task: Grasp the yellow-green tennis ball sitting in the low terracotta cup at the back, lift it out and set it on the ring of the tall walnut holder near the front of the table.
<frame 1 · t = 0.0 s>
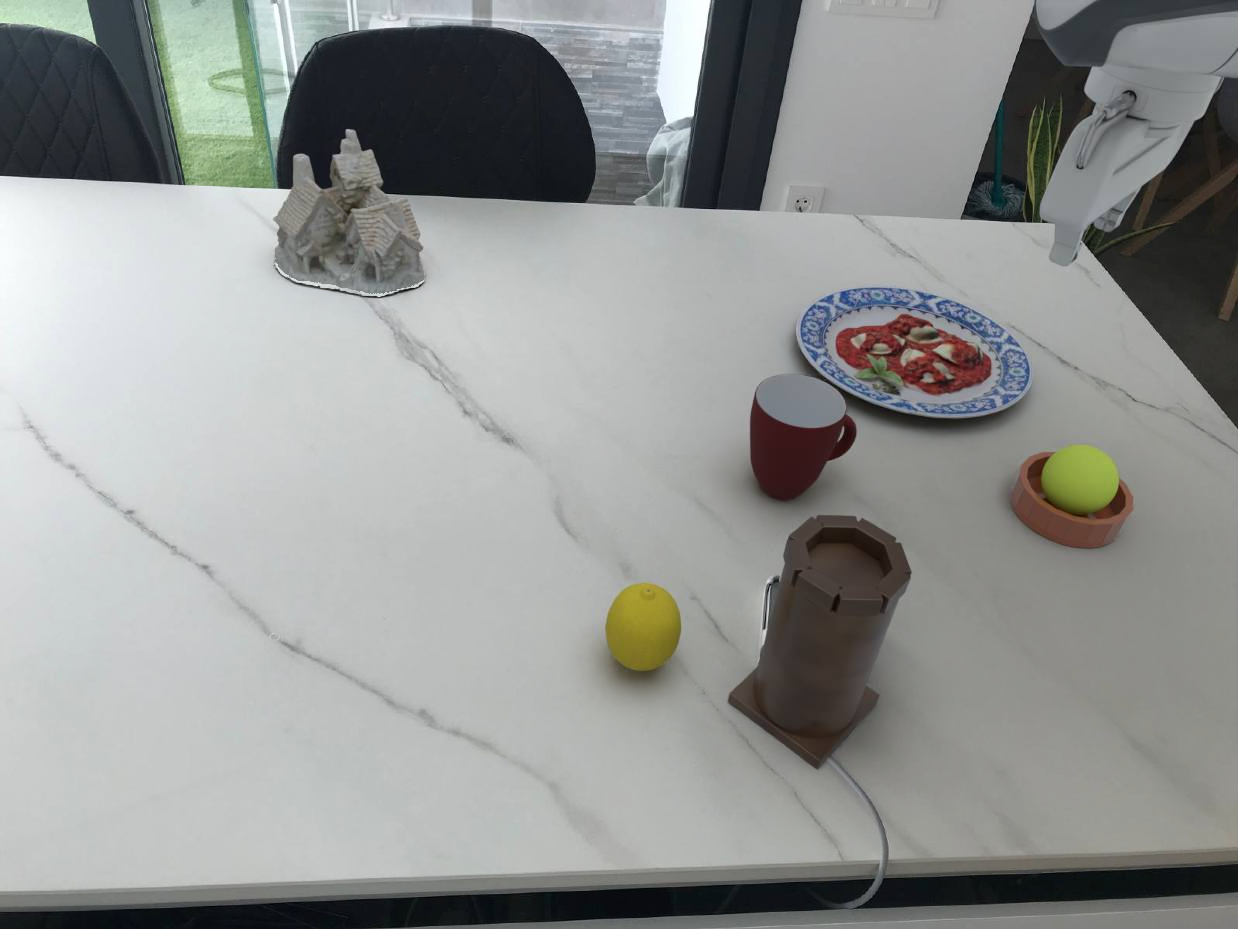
hand: (1083, 244, 83), 23 cm above the table, tool pointing down, fingers open, 8 cm apart
lemon: (638, 663, 74), on the table
mug: (790, 484, 92), on the table
ceramic cottage: (351, 269, 116), on the table
terracotta cup: (1064, 510, 91), on the table
ring holder: (843, 571, 63), on the table
ceramic plate: (907, 362, 109), on the table
tennis ball: (1079, 479, 89), point 4 cm above the table, touching terracotta cup
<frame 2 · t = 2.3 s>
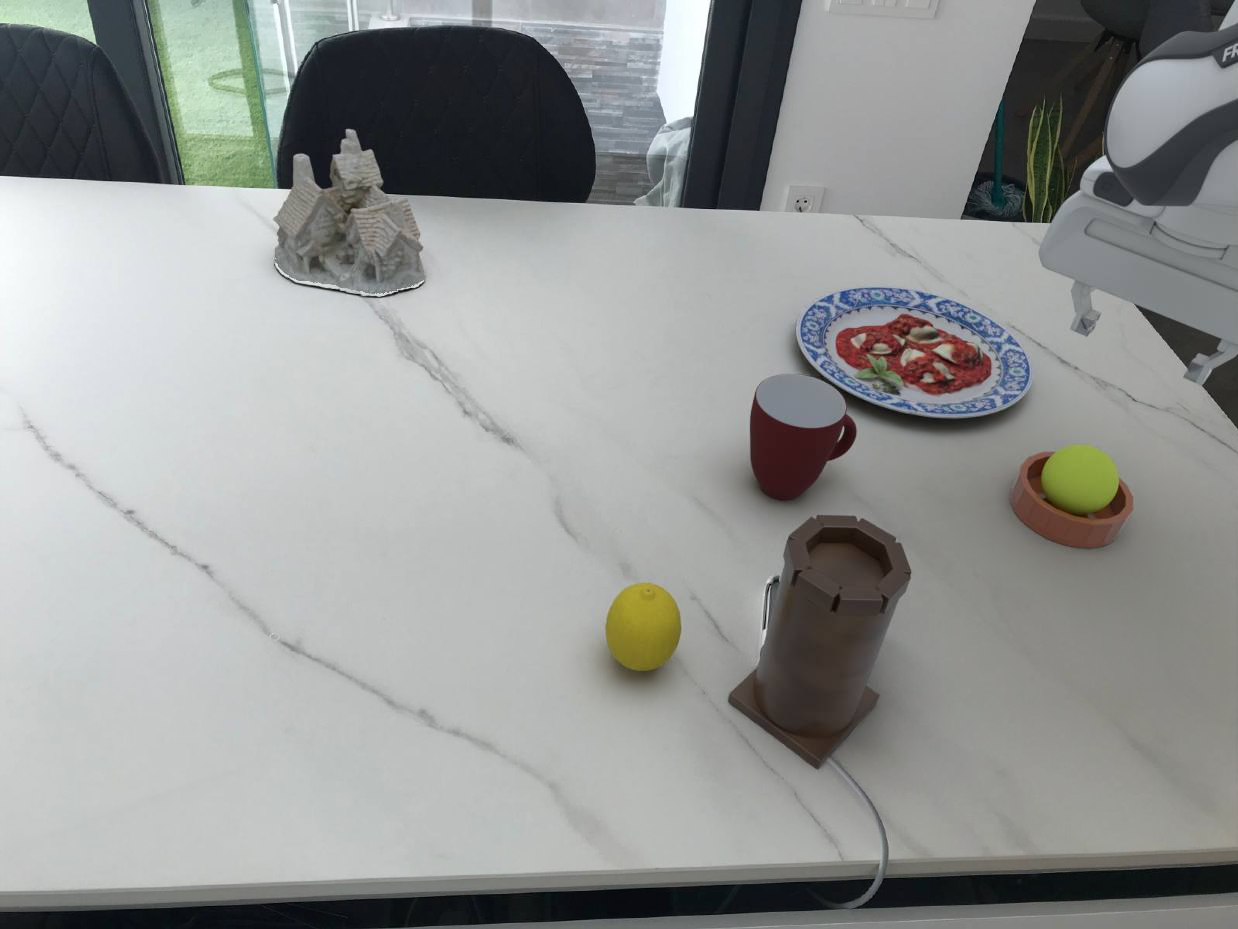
hand: (1136, 354, 81), 17 cm above the table, tool pointing down, fingers open, 8 cm apart
nothing on the table moved.
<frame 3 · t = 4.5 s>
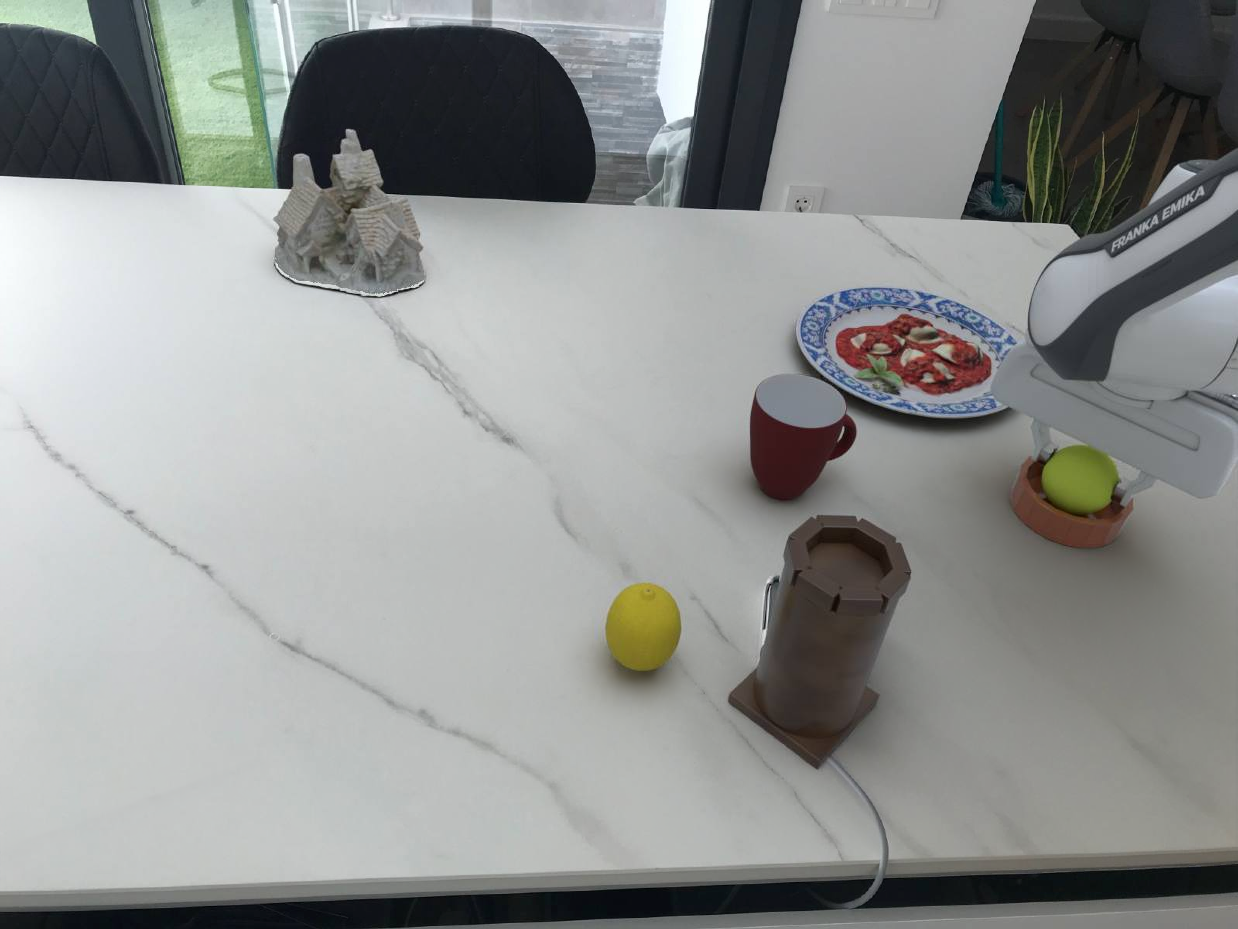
hand: (1079, 480, 89), 4 cm above the table, tool pointing down, fingers closed on tennis ball, 6 cm apart
tennis ball: (1079, 479, 89), point 4 cm above the table, touching gripper, terracotta cup
everything else where it was.
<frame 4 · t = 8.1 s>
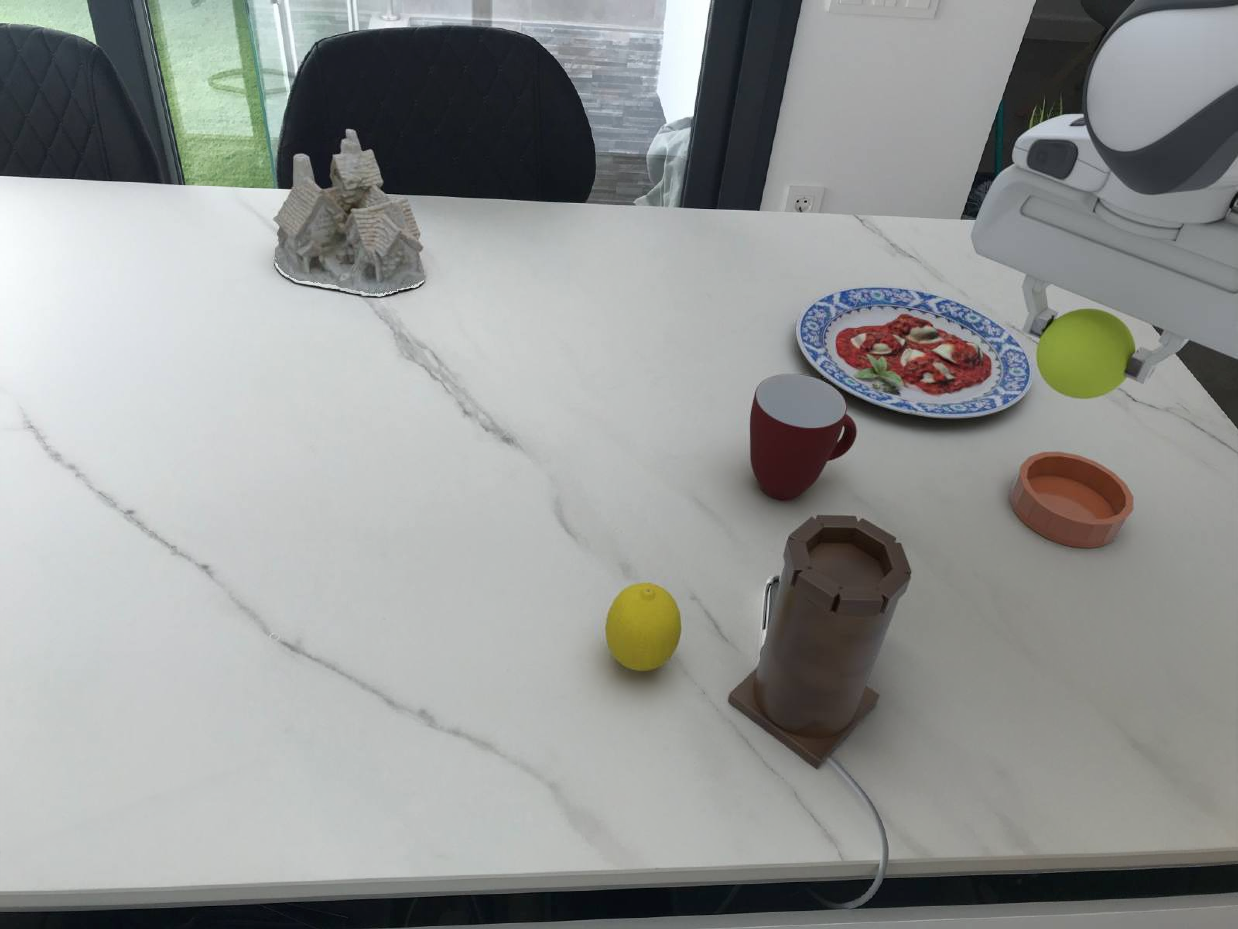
hand: (1083, 354, 70), 23 cm above the table, tool pointing down, fingers closed on tennis ball, 6 cm apart
tennis ball: (1085, 353, 70), point 23 cm above the table, touching gripper
everything else where it was.
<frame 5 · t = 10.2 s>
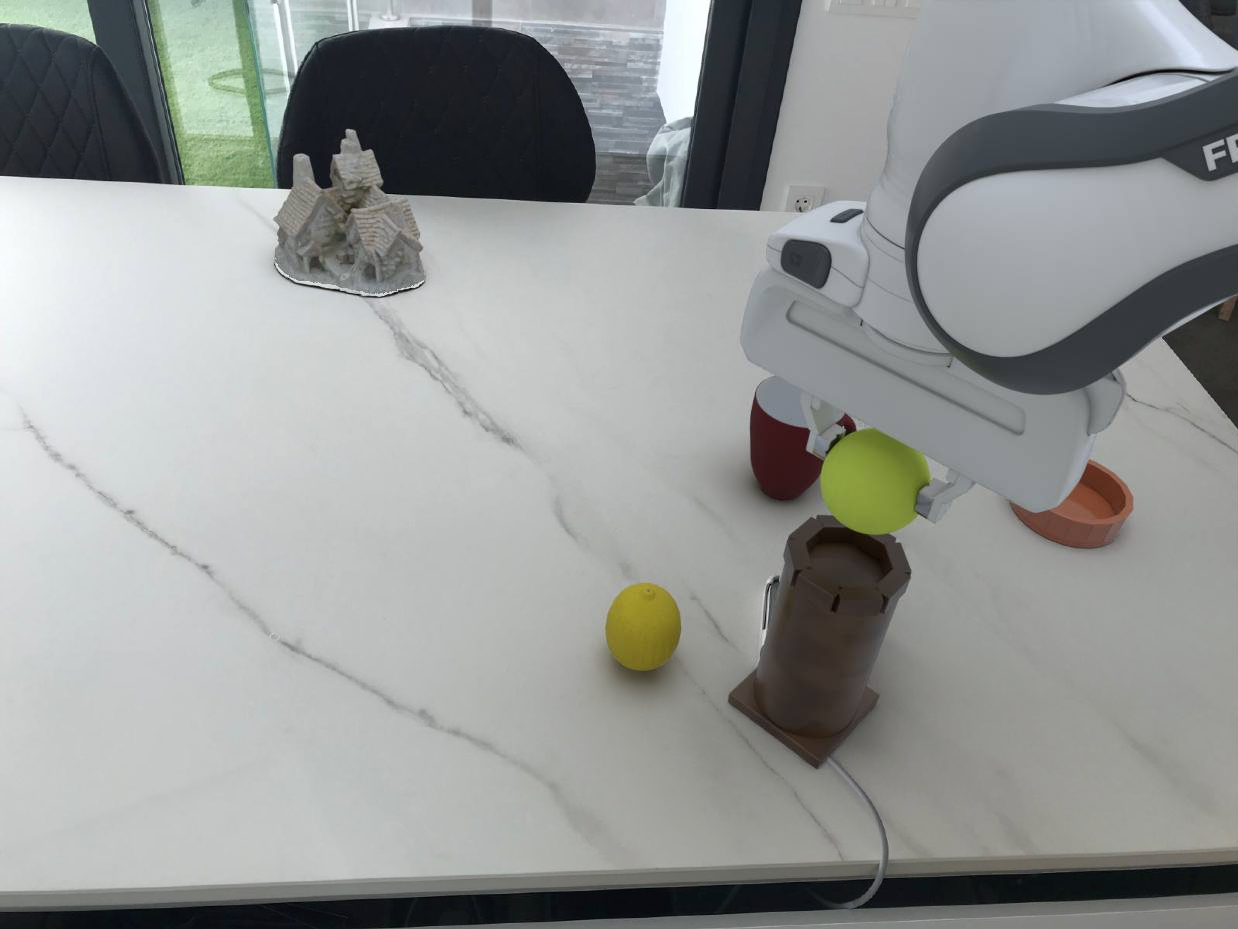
hand: (873, 481, 59), 22 cm above the table, tool pointing down, fingers closed on tennis ball, 6 cm apart
tennis ball: (874, 481, 59), point 22 cm above the table, touching gripper
everything else where it was.
when the fingers open (17 cm above the table, at t = 12.0 s): tennis ball stays where it is, resting on ring holder.
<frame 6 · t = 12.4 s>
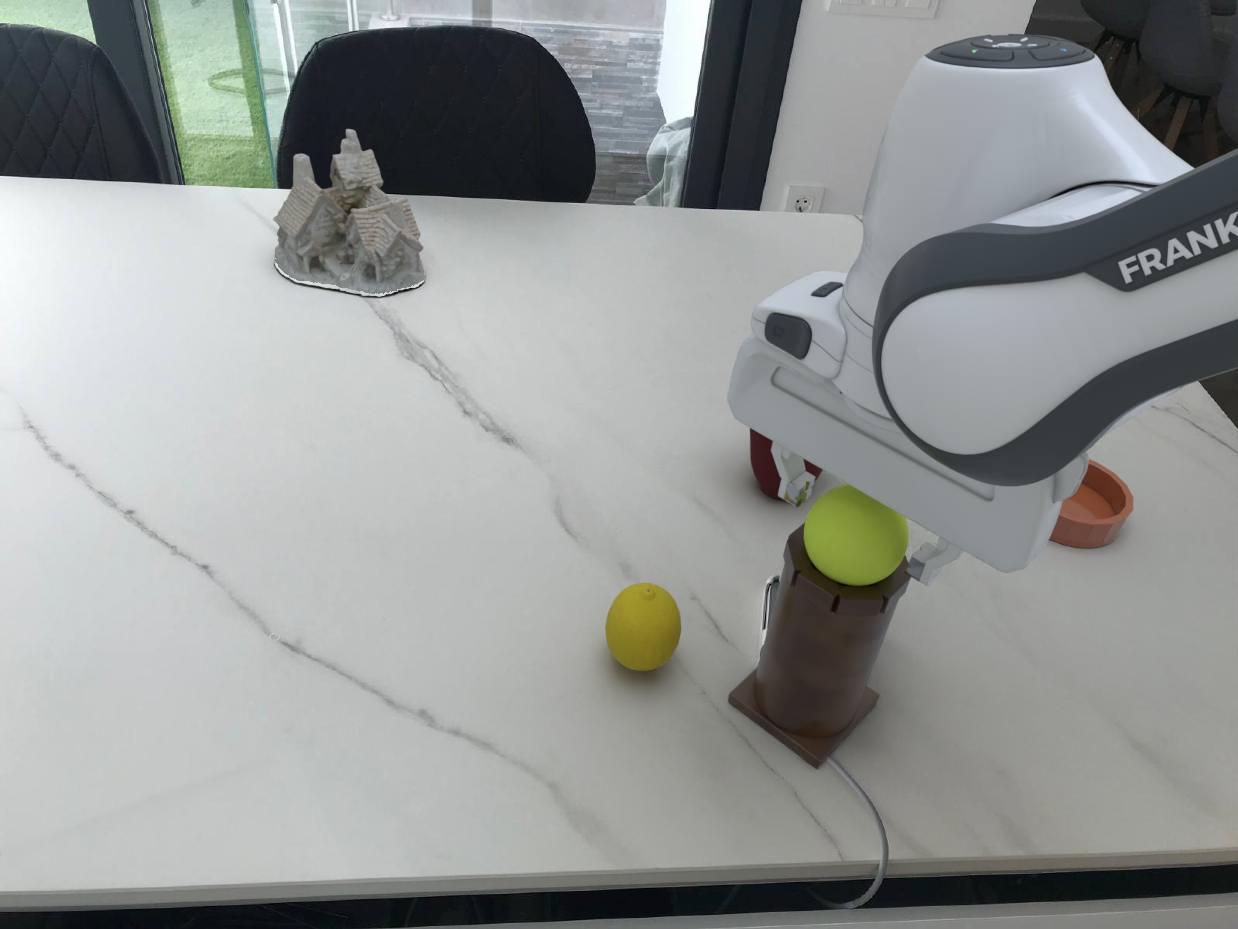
hand: (855, 535, 61), 17 cm above the table, tool pointing down, fingers open, 8 cm apart
tennis ball: (855, 534, 61), point 17 cm above the table, touching ring holder
everything else where it was.
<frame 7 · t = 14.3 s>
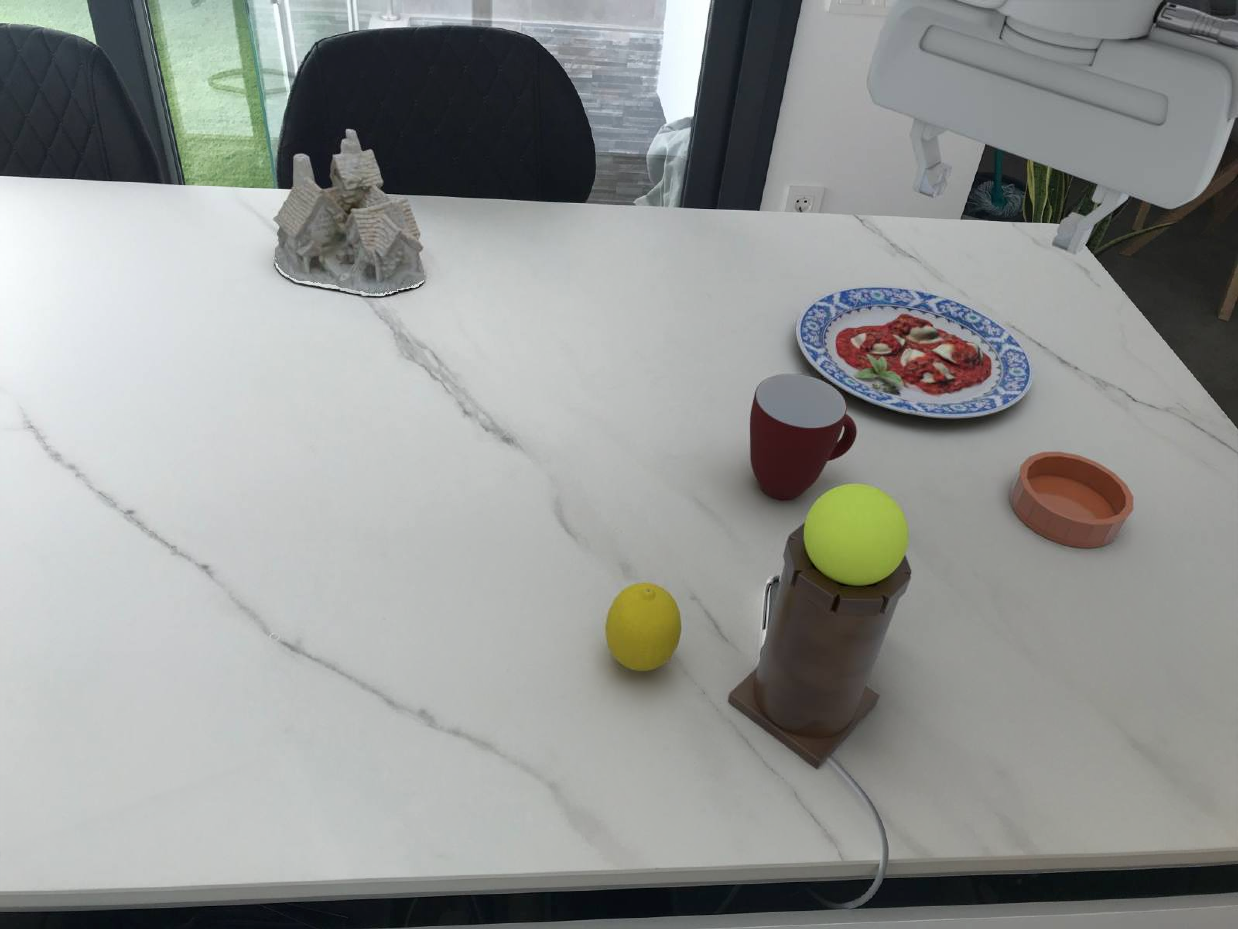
hand: (994, 219, 61), 33 cm above the table, tool pointing down, fingers open, 8 cm apart
nothing on the table moved.
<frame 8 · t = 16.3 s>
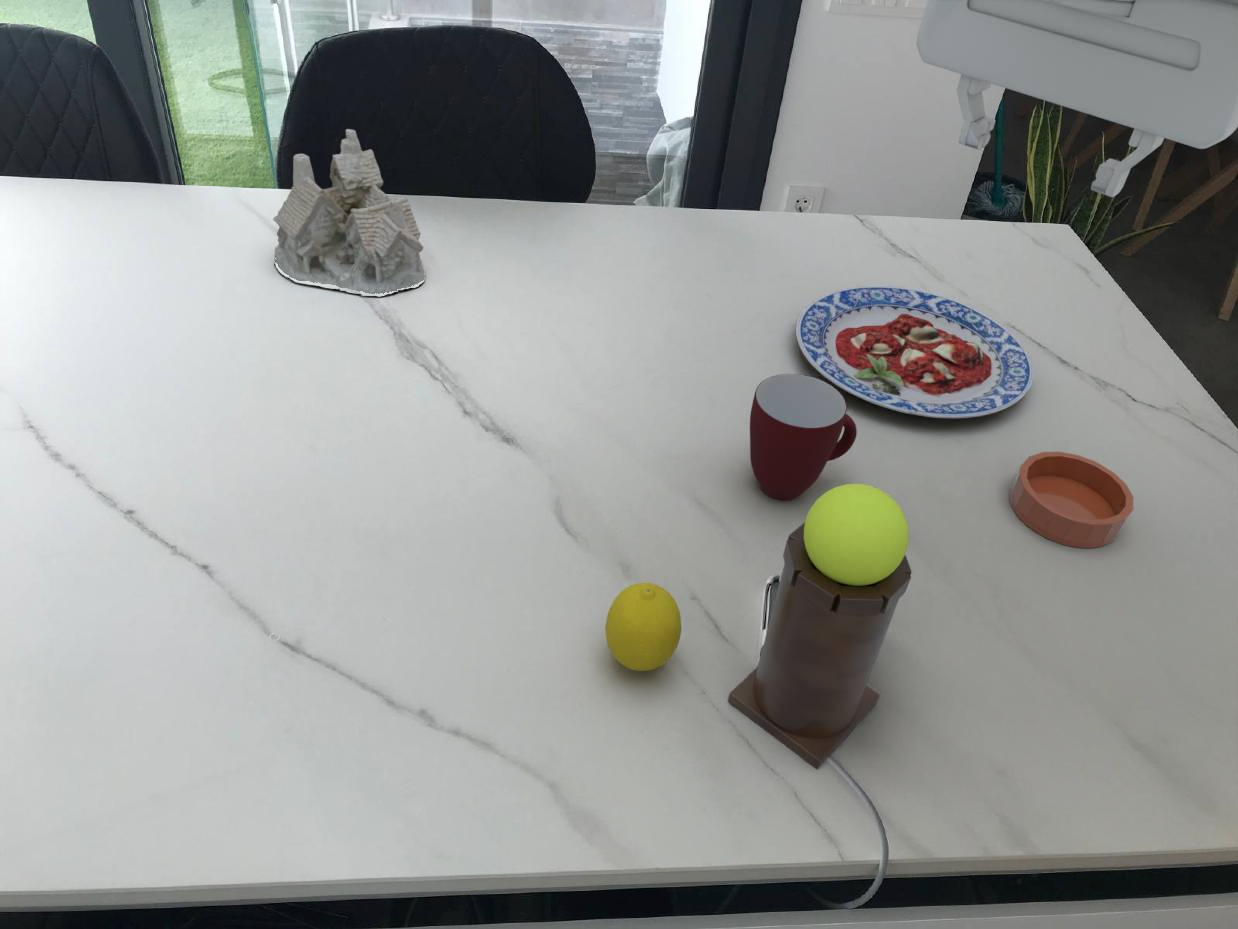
hand: (1036, 167, 66), 34 cm above the table, tool pointing down, fingers open, 8 cm apart
nothing on the table moved.
at the end: tennis ball 0.0 cm off-centre on the ring holder, point 3.4 cm above the ring holder's base; tennis ball moved 38.8 cm from its start; the gripper is holding nothing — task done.
